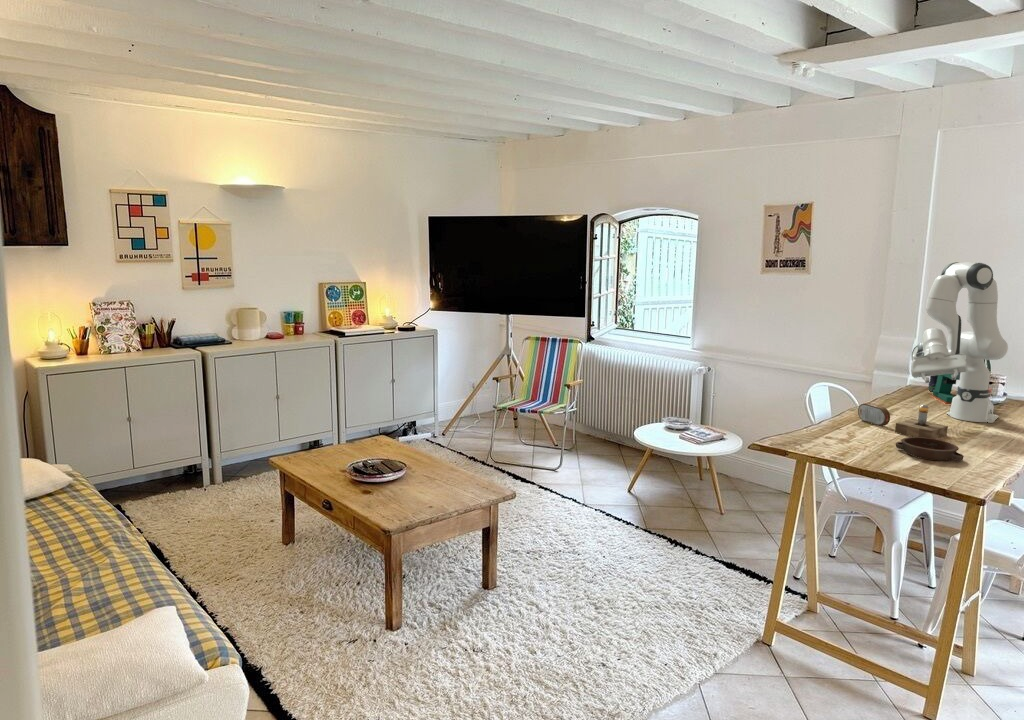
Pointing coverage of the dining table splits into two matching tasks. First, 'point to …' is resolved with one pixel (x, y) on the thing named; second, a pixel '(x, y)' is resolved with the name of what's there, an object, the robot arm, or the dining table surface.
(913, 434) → the brown square frame
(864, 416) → the tin
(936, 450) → the dish
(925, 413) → the grey upright cylinder
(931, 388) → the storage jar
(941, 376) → the power tool
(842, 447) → the dining table surface
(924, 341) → the robot arm
